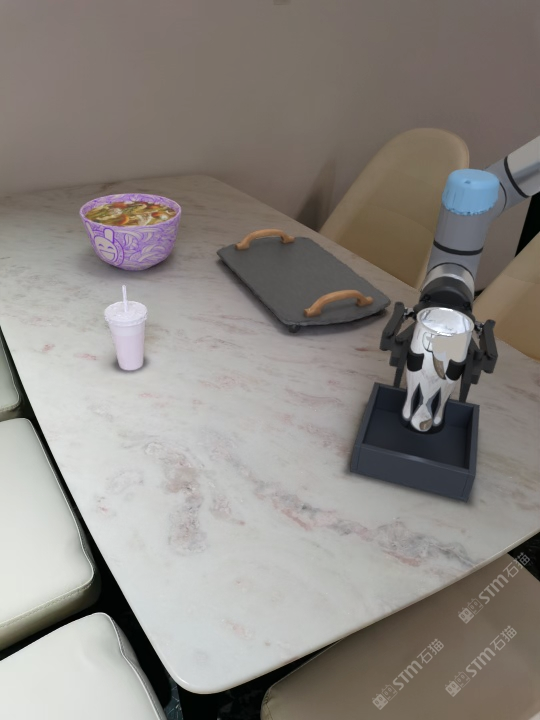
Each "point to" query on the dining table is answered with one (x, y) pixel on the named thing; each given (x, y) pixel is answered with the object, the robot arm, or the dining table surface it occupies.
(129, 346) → the smoothie
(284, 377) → the dining table surface
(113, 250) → the bowl of food
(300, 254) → the serving tray
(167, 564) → the dining table surface
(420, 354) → the beer glass
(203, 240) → the dining table surface
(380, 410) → the slate grey square tray
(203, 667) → the dining table surface
